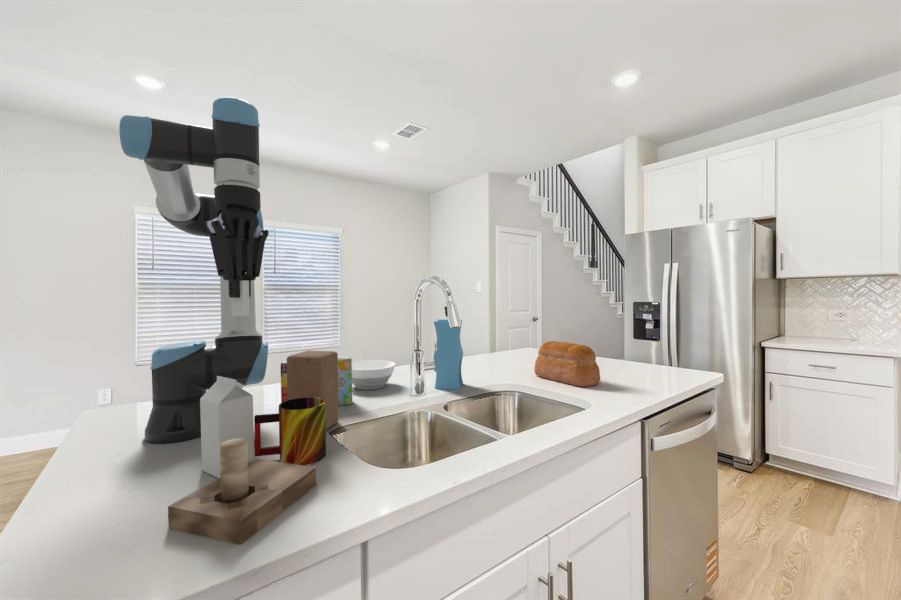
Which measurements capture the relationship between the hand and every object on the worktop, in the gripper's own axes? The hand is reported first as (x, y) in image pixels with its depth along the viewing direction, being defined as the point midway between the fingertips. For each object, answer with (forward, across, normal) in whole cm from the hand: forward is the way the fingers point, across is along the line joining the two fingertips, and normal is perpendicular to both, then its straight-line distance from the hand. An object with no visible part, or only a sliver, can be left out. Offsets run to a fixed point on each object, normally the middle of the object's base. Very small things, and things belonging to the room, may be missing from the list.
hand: (240, 315), depth 74 cm
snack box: (+33, +48, +18) cm, 61 cm away
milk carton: (+33, +5, +9) cm, 34 cm away
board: (+32, -5, -6) cm, 33 cm away
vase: (+33, +83, -15) cm, 90 cm away
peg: (+32, -8, -6) cm, 34 cm away
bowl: (+33, +75, +14) cm, 83 cm away
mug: (+33, +13, -1) cm, 35 cm away
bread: (+33, +106, -57) cm, 125 cm away
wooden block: (+33, +31, +7) cm, 46 cm away
